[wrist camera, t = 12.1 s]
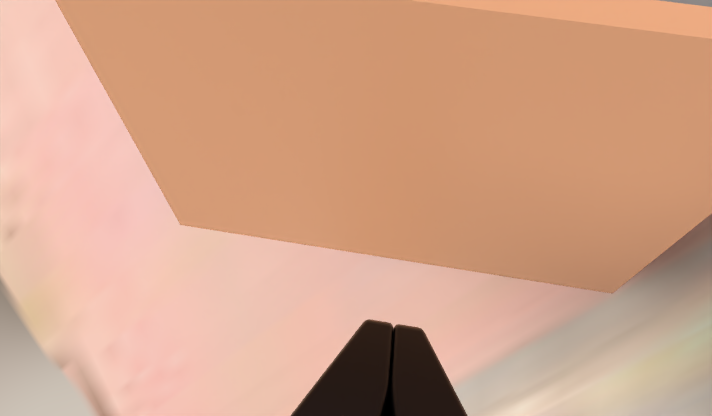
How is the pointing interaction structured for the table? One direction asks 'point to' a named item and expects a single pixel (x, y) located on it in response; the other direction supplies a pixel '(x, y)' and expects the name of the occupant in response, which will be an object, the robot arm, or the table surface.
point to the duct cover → (423, 124)
